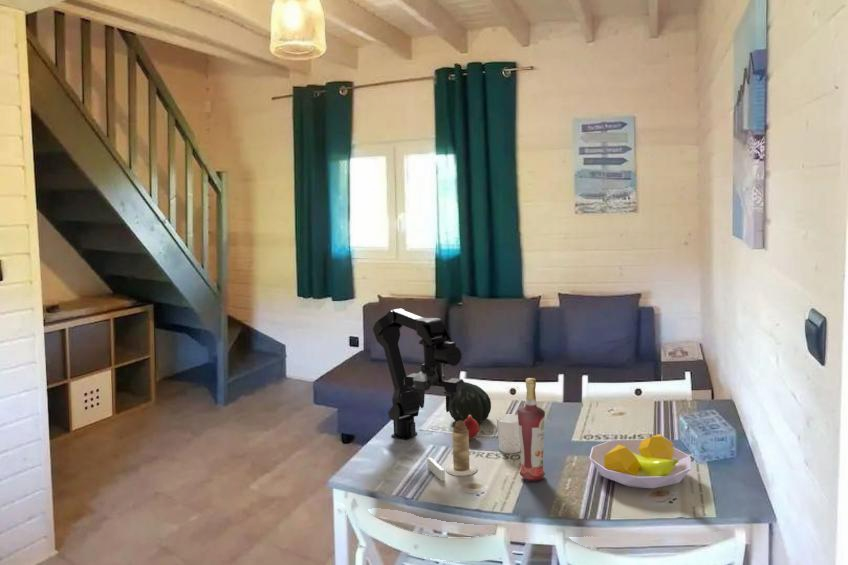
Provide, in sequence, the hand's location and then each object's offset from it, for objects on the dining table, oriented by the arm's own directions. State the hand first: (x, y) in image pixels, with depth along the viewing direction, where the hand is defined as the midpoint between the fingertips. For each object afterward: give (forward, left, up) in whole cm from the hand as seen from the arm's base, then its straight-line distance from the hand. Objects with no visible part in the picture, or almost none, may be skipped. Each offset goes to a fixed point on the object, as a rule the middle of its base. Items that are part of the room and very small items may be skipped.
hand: (434, 409), depth 200 cm
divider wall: (+9, -15, -13) cm, 22 cm away
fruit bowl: (+60, +8, -13) cm, 62 cm away
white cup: (+20, +11, -13) cm, 26 cm away
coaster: (+14, -9, -13) cm, 21 cm away
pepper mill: (+14, -9, -13) cm, 21 cm away
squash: (-3, +28, -13) cm, 31 cm away
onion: (+5, +13, -13) cm, 19 cm away
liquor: (+34, -5, -13) cm, 37 cm away
